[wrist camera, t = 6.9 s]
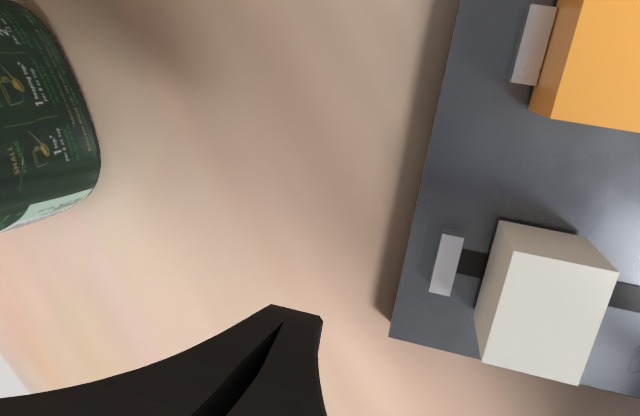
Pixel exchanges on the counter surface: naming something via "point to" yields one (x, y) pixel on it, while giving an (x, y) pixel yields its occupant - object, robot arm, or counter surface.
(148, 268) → the counter surface
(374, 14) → the counter surface
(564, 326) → the fader
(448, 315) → the mixer panel
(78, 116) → the coffee jar
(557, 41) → the fader
